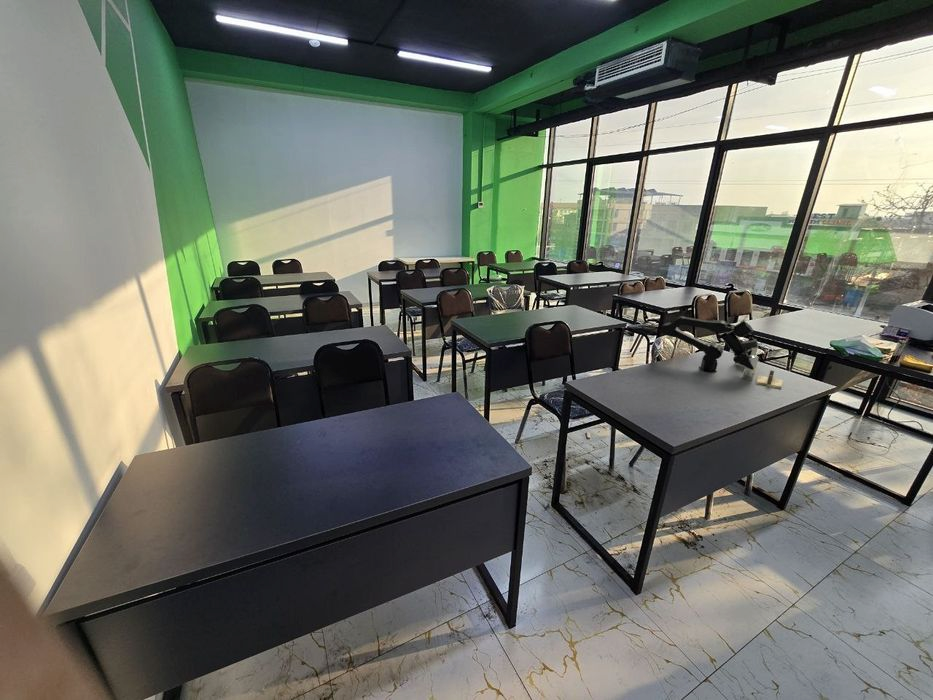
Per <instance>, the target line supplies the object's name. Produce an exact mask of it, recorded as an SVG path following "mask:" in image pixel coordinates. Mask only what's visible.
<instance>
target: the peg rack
mask: <svg viewBox="0 0 933 700" xmlns="http://www.w3.org/2000/svg"><path fill="white" fill-rule="evenodd" d="M774 373H775V370H772V369H771V370H770V371H769V374H768V376H764V375H758V376H757V379H756V382H755V384H756V385H761V386H765V387H770V388H775V389H778V390H781V389H782V386H783V381H784V380H783V379H780V378H779V379H778V378H774Z"/></svg>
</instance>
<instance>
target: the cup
mask: <svg viewBox="0 0 933 700" xmlns="http://www.w3.org/2000/svg"><path fill="white" fill-rule="evenodd" d="M758 349H759V346H758V347H756V348H752V349H751V350H752V353H751V355H754V356H757V351H758ZM749 351H750V349H749ZM735 364H736V366H739V367H742V368H745V366H743V365H741V364H739V363H735Z"/></svg>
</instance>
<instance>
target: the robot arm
mask: <svg viewBox="0 0 933 700" xmlns="http://www.w3.org/2000/svg"><path fill="white" fill-rule="evenodd" d="M680 326H688V327H689V326H690V327H692V328H693V327H695V328H699V329H705V330H708V331H710V332H713V333H716V334H717V341H719V340H723V341H724V342H725V344H726V345H727V346H728V349H729V350H731V352H733V362H734V363H735V364H736V363H739V364H741V365H743V366H745V367H747V368H749V369H751V370H753V369H754V368H753V366H752V364H751V362H750V361H749V357H750V355H751V353H752V350H751V349H752V348H756V347H758V348H759V344H758V340H757V338H754V337H752V336H751V337H749V338H748V339H747V340H746V341H743V340H742V339H740V338H743V337H745V336H747V335H749V334H751V333H753V332H754V329H753V327H752V326H751V325H750V324H749V323H748V322H746V320H744V319H743V320H741V321H740V322H739V323H737V324H731V323H727V321H725V320H722V319H721V320H719V319H718V320H717V319H715V320H714V319H713V320H706V319H699V318H694V317H689V316H688V317H687V316H684V315H683V316H681V315H680V316H679V317H678V318H676V319H675V320H672V321H671V322H667V323H665V324H663V325H662V326H661V327H660V333H661V334H662V335H664V336H667V337H671V338H676V339H678V340H680V341H683V342H684V343H687V344H688V345H690V346H692V347H694V348H697V349H699V350H701V351H702V353H704V355H703V356H702V359H701V364H700V365H699V366H698V368H699V369H700V370H701V371H703V372H706V373H707V372H709V373H716V372H717V367H718V364H719V363H718V359H720V358H721V356H722V355H723V353H724V349H723V347H722V346H721V345H720V344H717V343H715V342H714V341H711V342H710V343H708V342H705V341H703V340H701V339H699V338H697V337H695V336H693V335H691V334H689V333H686V332H684V331H682V330H681V329H679V327H680ZM739 337H740V338H739ZM749 349H750V351H749ZM745 367H744V368H745Z"/></svg>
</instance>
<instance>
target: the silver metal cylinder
mask: <svg viewBox="0 0 933 700" xmlns="http://www.w3.org/2000/svg"><path fill="white" fill-rule="evenodd" d="M759 358H760V357H759V356H758V355H756V356H754V355H750V357H749V361H750V362H751V364H752V366H753V368H754V369H753V370H751V369H749V368H747V367H743V368H744V369H743V373H742V376H741V378H742V379H743V380H746V381H753V380H754V377H755V373H756V369H757V365H758V362H759Z"/></svg>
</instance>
